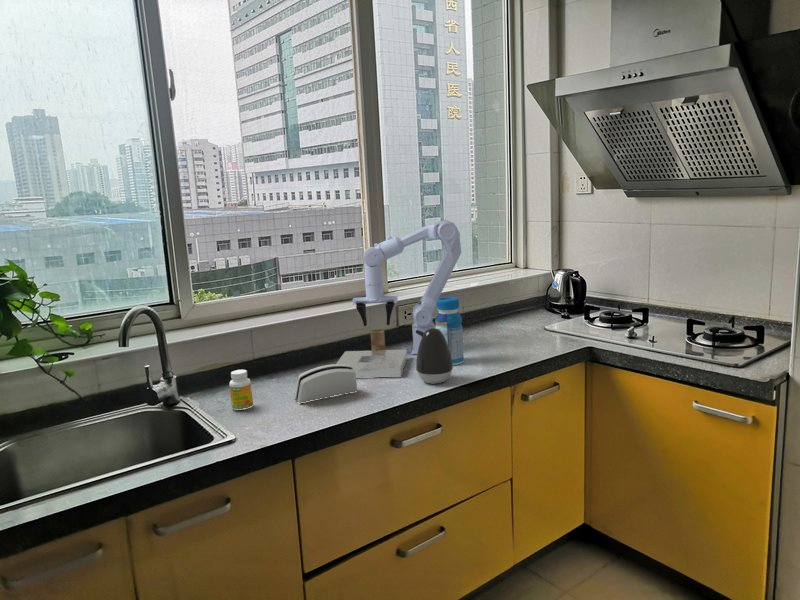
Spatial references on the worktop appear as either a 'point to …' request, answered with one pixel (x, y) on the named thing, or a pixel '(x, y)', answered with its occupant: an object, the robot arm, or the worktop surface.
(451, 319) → the beverage bottle
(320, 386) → the napkin holder
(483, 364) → the worktop surface
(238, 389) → the supplement bottle
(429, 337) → the pump dispenser
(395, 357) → the grey flat square slab
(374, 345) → the wedge peg
